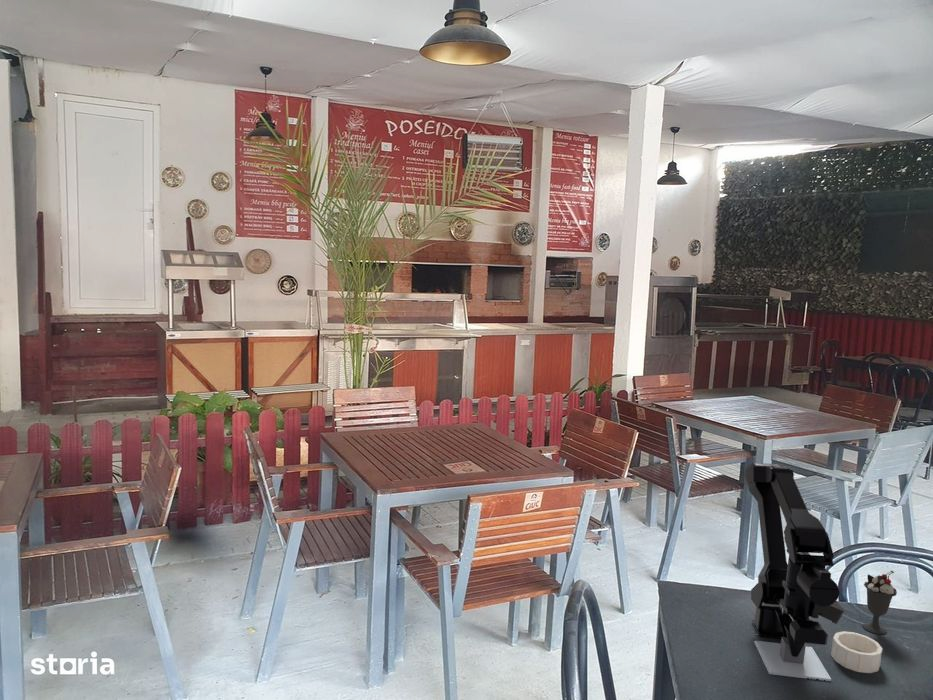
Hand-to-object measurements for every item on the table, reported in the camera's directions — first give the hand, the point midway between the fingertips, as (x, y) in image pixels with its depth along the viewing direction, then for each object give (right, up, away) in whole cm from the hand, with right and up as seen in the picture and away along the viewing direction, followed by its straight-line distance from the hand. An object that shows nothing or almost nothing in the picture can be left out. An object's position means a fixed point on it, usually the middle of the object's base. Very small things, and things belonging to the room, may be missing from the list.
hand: (792, 652), depth 154 cm
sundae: (+26, -1, +15) cm, 30 cm away
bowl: (+14, -3, +2) cm, 14 cm away
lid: (0, -2, 0) cm, 2 cm away
